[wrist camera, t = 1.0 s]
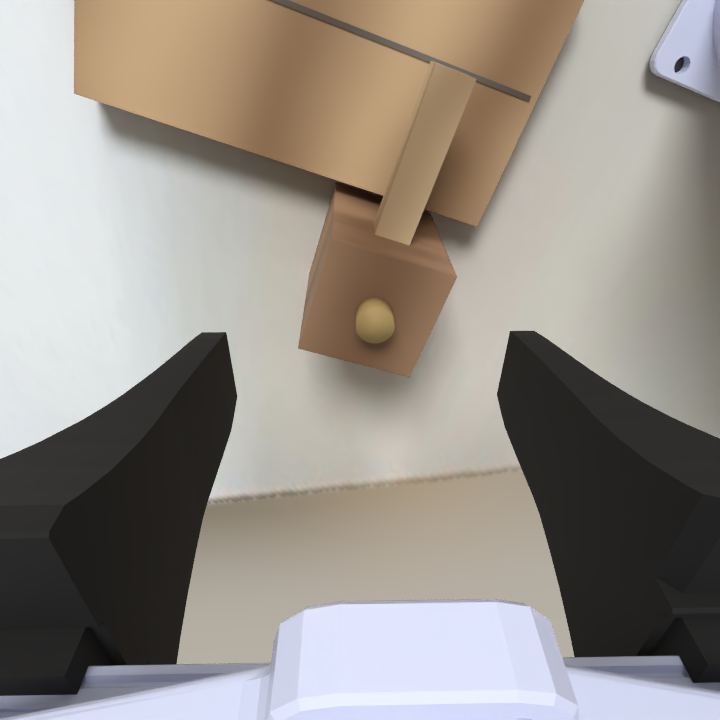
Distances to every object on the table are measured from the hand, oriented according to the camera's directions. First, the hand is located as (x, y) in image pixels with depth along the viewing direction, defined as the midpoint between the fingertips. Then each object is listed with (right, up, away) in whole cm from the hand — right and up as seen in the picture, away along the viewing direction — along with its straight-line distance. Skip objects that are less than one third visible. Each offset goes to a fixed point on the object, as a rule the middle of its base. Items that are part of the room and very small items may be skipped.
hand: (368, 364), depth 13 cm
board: (-1, +11, +4) cm, 12 cm away
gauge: (+1, +7, +7) cm, 10 cm away
